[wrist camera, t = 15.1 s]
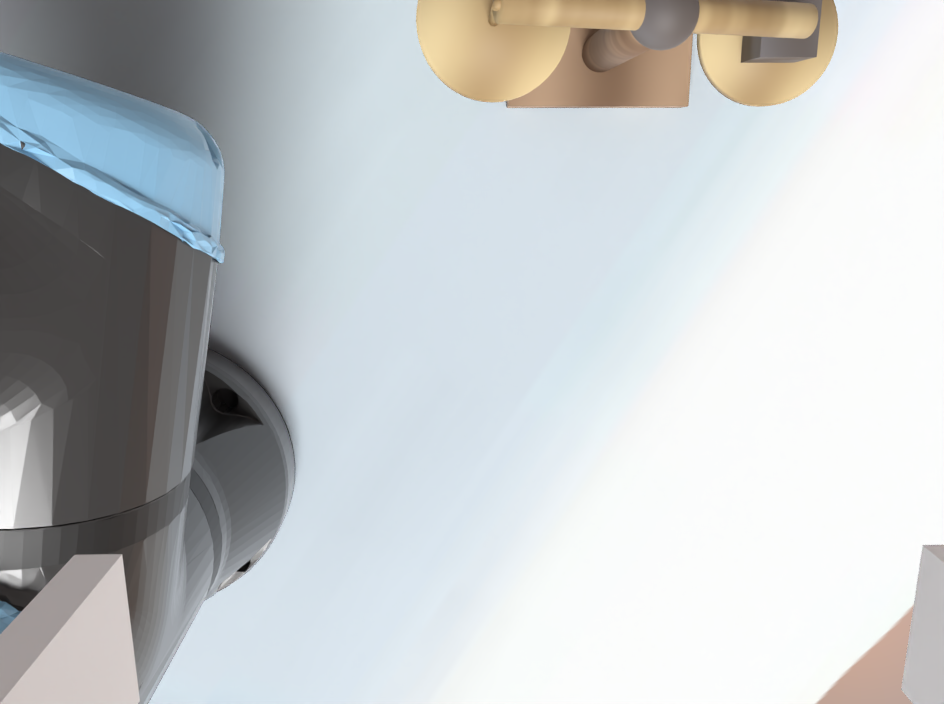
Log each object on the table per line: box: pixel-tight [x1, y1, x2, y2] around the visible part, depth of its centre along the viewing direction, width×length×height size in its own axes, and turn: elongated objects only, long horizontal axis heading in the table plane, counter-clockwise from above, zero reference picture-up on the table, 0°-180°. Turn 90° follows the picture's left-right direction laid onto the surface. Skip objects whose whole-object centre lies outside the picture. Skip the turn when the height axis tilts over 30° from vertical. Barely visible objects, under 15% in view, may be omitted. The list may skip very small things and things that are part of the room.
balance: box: [416, 0, 838, 108], centre depth 33 cm, size 17×6×16 cm, turn 90°
